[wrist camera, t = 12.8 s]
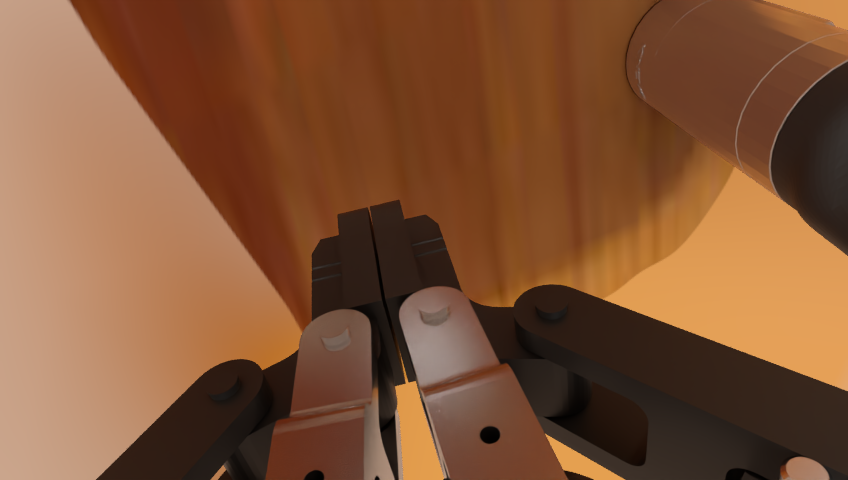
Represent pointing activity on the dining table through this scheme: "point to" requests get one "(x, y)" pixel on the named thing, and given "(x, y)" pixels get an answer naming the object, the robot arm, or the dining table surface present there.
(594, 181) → the dining table surface
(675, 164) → the dining table surface
